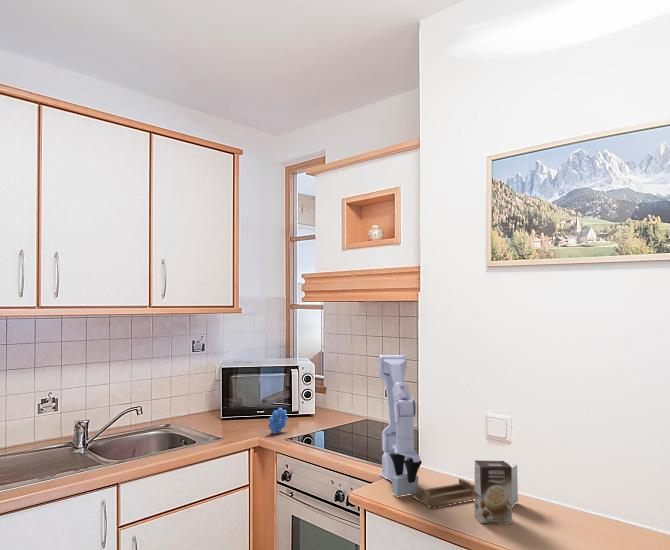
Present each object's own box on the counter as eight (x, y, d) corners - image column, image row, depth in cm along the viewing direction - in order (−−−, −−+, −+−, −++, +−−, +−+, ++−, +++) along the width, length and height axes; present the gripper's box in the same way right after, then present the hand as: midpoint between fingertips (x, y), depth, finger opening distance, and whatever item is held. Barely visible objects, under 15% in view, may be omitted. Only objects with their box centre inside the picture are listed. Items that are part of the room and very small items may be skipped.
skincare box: (505, 500, 163) (504, 461, 164) (518, 503, 160) (517, 464, 161) (497, 505, 158) (497, 466, 159) (511, 509, 155) (510, 469, 156)
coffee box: (480, 524, 145) (480, 467, 145) (474, 515, 151) (473, 460, 152) (512, 524, 145) (512, 466, 146) (504, 515, 151) (503, 459, 152)
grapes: (281, 429, 253) (281, 405, 254) (290, 431, 248) (290, 407, 249) (262, 433, 245) (263, 408, 245) (271, 436, 240) (272, 410, 241)
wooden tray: (412, 496, 166) (412, 483, 166) (457, 488, 173) (457, 476, 173) (431, 509, 155) (431, 495, 156) (478, 500, 163) (478, 487, 163)
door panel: (392, 494, 167) (392, 474, 168) (413, 491, 170) (413, 471, 171) (397, 498, 164) (397, 477, 165) (418, 494, 168) (418, 474, 168)
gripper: (383, 432, 173) (383, 473, 173) (406, 443, 160) (406, 487, 159) (401, 430, 176) (401, 470, 175) (425, 440, 163) (425, 484, 162)
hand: (405, 478), depth 168 cm, fingers open, 7 cm apart
